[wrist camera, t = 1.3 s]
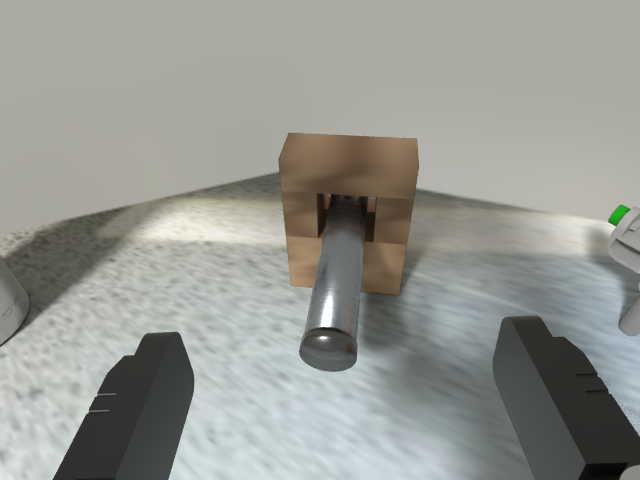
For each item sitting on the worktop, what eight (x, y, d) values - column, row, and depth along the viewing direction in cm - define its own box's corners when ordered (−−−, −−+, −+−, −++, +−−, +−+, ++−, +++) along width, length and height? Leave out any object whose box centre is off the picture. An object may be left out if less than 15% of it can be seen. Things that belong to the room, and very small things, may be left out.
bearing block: (290, 285, 40) (278, 159, 31) (298, 256, 43) (288, 132, 34) (398, 295, 39) (418, 166, 30) (398, 264, 42) (416, 138, 33)
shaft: (355, 374, 26) (357, 341, 24) (300, 368, 26) (297, 335, 24) (370, 179, 42) (373, 148, 39) (336, 177, 42) (336, 146, 40)
